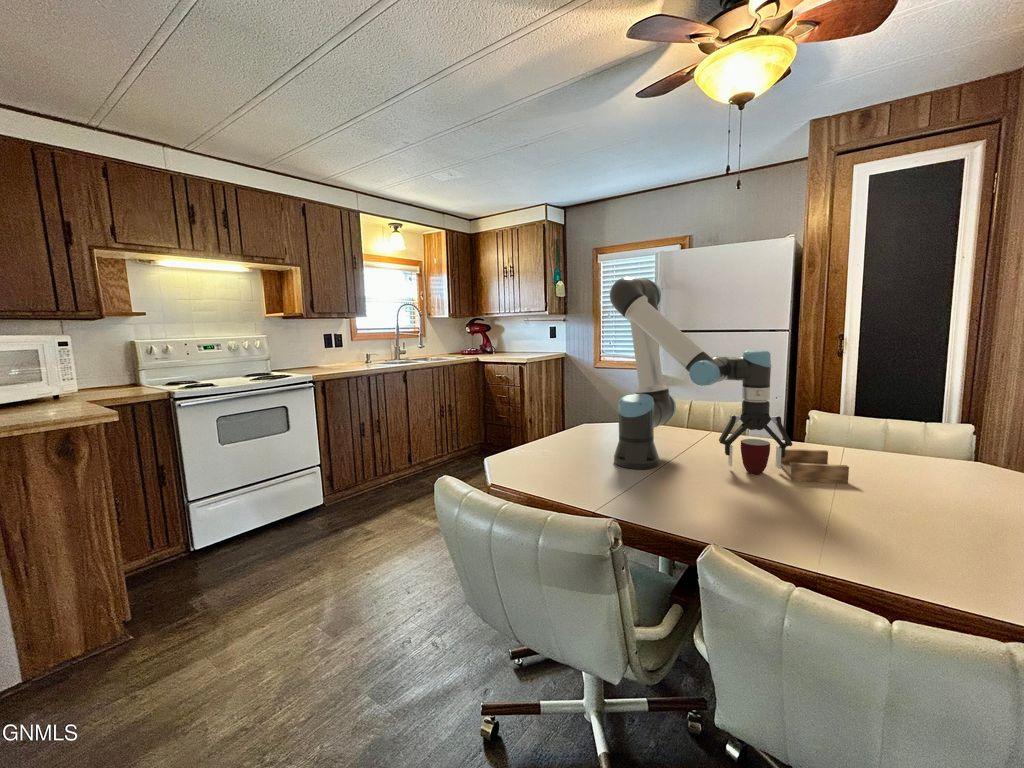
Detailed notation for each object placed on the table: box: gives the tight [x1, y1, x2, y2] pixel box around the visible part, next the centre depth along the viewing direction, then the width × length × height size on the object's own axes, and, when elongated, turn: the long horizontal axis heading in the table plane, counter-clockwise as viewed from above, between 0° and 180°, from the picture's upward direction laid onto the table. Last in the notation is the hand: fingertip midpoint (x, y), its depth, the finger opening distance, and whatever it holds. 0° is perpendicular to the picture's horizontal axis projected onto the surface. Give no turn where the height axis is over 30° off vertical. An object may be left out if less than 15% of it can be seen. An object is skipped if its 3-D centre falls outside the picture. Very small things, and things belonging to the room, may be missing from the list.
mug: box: [740, 438, 771, 476], centre depth 138 cm, size 10×8×10 cm
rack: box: [781, 448, 850, 484], centre depth 136 cm, size 14×17×5 cm
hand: (753, 466), depth 139 cm, fingers open, 13 cm apart
